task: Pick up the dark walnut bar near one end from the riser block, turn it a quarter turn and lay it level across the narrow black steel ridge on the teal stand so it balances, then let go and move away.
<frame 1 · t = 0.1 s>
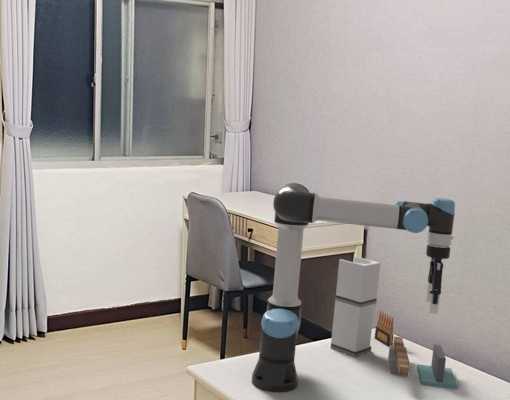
hand: (431, 307, 234), 28 cm above the table, tool pointing down, fingers open, 13 cm apart
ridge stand: (436, 378, 246), on the table
tall open-top box: (350, 350, 269), on the table
ammunition clip: (383, 343, 281), on the table
walnut rod: (400, 359, 248), point 5 cm above the table, touching riser block
riser block: (397, 366, 255), on the table
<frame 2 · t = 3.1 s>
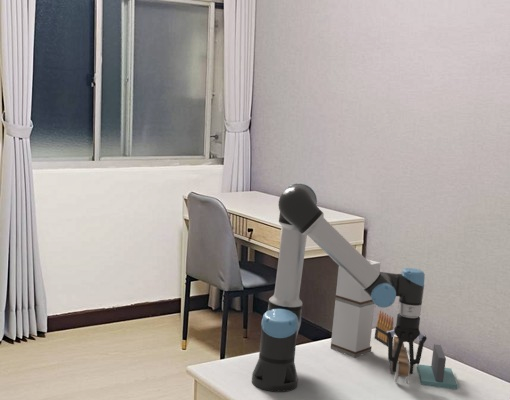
hand: (401, 381, 238), 1 cm above the table, tool pointing down, fingers closed on walnut rod, 3 cm apart
walnut rod: (400, 359, 248), point 5 cm above the table, touching gripper
everything else where it was.
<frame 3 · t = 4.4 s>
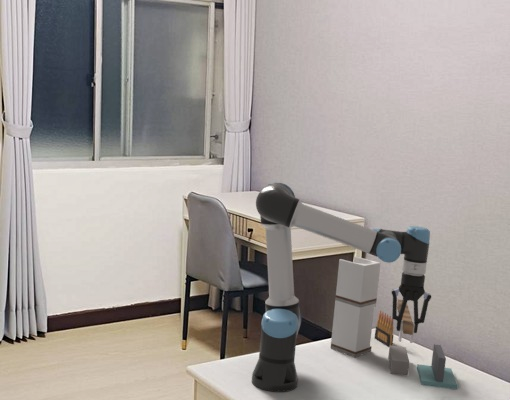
hand: (405, 340, 236), 15 cm above the table, tool pointing down, fingers closed on walnut rod, 3 cm apart
walnut rod: (404, 320, 246), point 19 cm above the table, touching gripper
everything else where it was.
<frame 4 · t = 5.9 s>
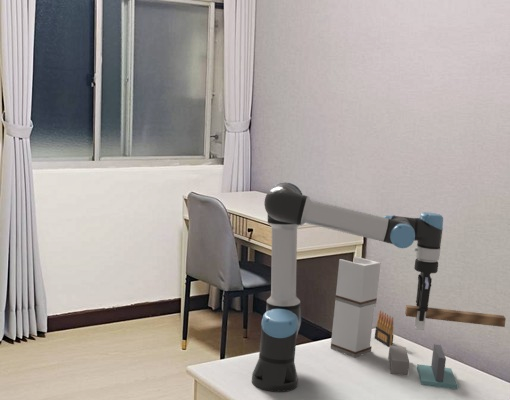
hand: (419, 327, 235), 20 cm above the table, tool pointing down, fingers closed on walnut rod, 3 cm apart
walnut rod: (454, 320, 233), point 24 cm above the table, touching gripper
everything else where it was.
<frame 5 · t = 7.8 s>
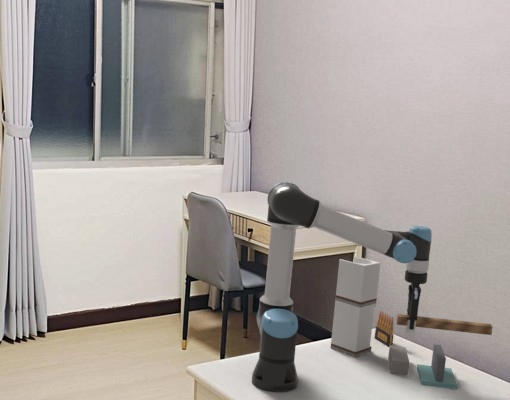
hand: (409, 335, 246), 14 cm above the table, tool pointing down, fingers closed on walnut rod, 3 cm apart
walnut rod: (443, 328, 244), point 18 cm above the table, touching gripper
everything else where it was.
when the fingers open (8 cm above the table, at t = 9.2 s): walnut rod drops 1 cm, resting on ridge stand.
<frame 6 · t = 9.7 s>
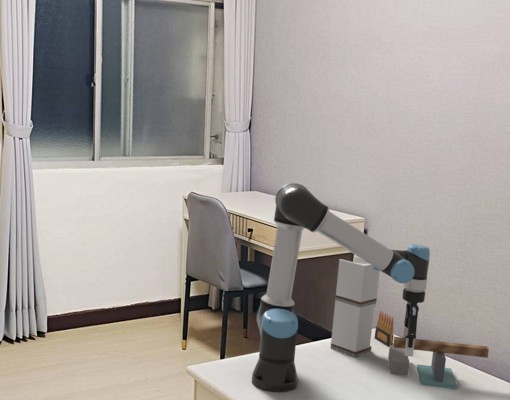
hand: (407, 350, 246), 9 cm above the table, tool pointing down, fingers open, 10 cm apart
walnut rod: (439, 351, 245), point 10 cm above the table, touching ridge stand
everything else where it was.
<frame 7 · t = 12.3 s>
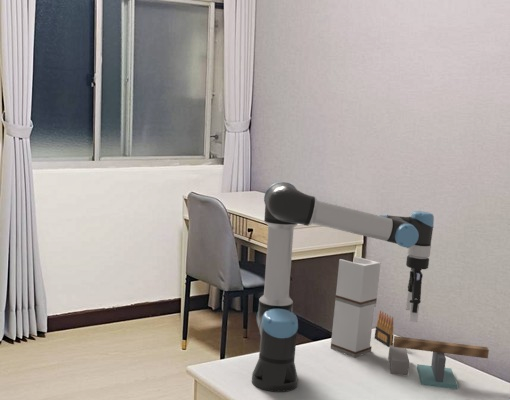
hand: (411, 315, 245), 21 cm above the table, tool pointing down, fingers open, 13 cm apart
nothing on the table moved.
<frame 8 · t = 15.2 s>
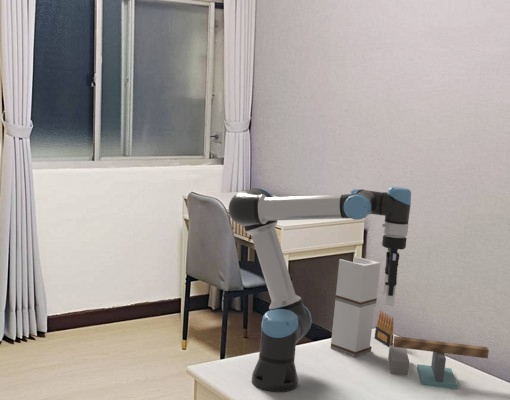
hand: (387, 299, 228), 31 cm above the table, tool pointing down, fingers open, 13 cm apart
nothing on the table moved.
at the end: walnut rod 0.1 cm off-centre on the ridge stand, point 10.0 cm above the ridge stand's base; walnut rod tilted 0°; the gripper is holding nothing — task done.
